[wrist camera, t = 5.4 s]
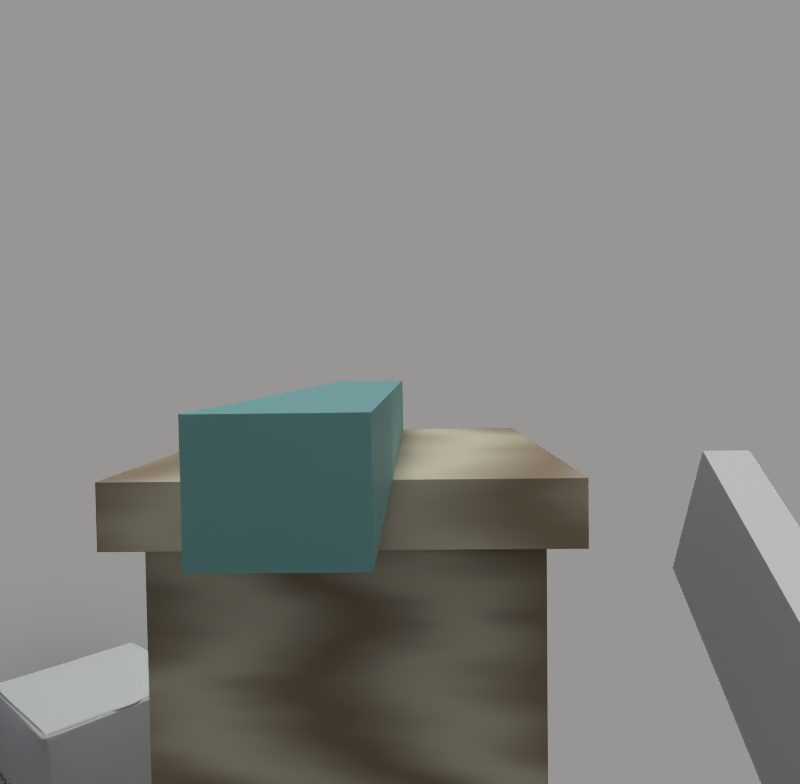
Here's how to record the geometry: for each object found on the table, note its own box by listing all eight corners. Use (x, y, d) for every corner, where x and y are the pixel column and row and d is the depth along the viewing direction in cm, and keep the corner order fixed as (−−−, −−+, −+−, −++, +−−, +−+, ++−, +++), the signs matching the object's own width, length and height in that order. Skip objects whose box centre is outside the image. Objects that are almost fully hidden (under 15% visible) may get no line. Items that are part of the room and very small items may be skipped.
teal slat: (182, 573, 11) (178, 414, 11) (342, 431, 35) (341, 381, 35) (373, 572, 11) (370, 412, 11) (402, 431, 35) (402, 380, 35)
